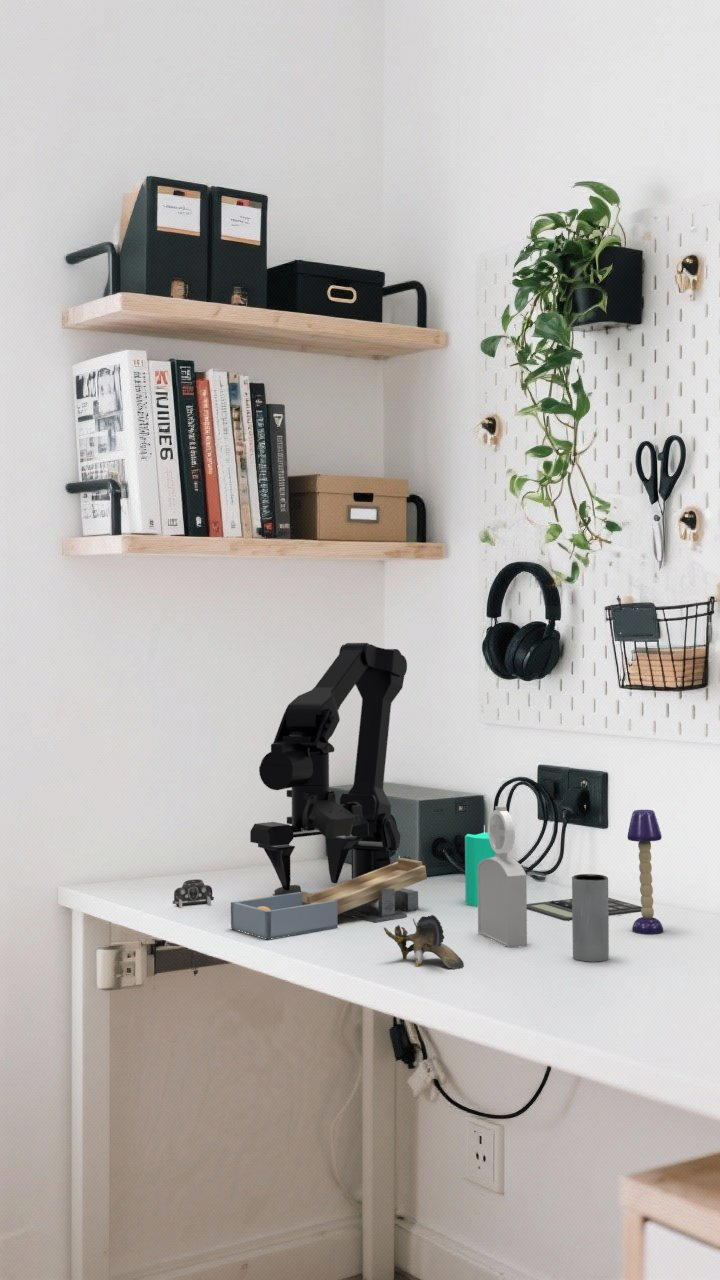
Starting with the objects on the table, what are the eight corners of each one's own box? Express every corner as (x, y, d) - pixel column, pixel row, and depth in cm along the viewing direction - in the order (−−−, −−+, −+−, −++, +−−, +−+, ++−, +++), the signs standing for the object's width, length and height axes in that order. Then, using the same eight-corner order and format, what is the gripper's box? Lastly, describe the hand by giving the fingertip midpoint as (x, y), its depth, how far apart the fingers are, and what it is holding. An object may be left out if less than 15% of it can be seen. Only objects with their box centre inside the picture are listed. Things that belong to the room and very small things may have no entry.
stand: (387, 902, 213) (387, 875, 213) (432, 912, 205) (432, 884, 205) (331, 911, 206) (330, 883, 206) (375, 922, 198) (374, 893, 198)
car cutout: (178, 914, 207) (178, 885, 207) (165, 907, 213) (165, 878, 213) (271, 905, 214) (271, 876, 214) (256, 898, 220) (256, 870, 220)
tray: (231, 929, 194) (230, 902, 194) (299, 917, 201) (299, 892, 201) (267, 939, 187) (267, 912, 187) (337, 927, 194) (337, 900, 194)
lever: (364, 866, 219) (362, 850, 218) (427, 878, 207) (424, 862, 207) (270, 901, 207) (268, 885, 207) (331, 916, 196) (328, 899, 195)
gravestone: (508, 947, 181) (507, 811, 181) (478, 933, 190) (477, 803, 190) (526, 946, 182) (525, 810, 182) (496, 931, 191) (495, 802, 191)
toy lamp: (625, 932, 189) (624, 811, 189) (631, 926, 194) (630, 807, 194) (661, 935, 188) (660, 813, 188) (665, 928, 192) (664, 809, 192)
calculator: (648, 907, 205) (565, 917, 198) (648, 913, 205) (565, 923, 198) (600, 894, 215) (520, 903, 208) (600, 900, 215) (520, 909, 208)
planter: (600, 963, 172) (600, 881, 172) (567, 959, 174) (566, 878, 174) (614, 956, 176) (613, 875, 176) (581, 952, 178) (580, 872, 178)
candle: (504, 899, 214) (503, 822, 214) (504, 906, 208) (504, 827, 208) (465, 899, 215) (465, 822, 215) (465, 906, 209) (464, 827, 209)
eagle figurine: (377, 958, 171) (439, 953, 166) (386, 905, 175) (446, 898, 170) (410, 981, 176) (470, 977, 171) (418, 929, 180) (477, 923, 175)
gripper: (291, 792, 197) (291, 901, 197) (391, 783, 209) (391, 886, 209) (248, 786, 206) (248, 890, 206) (346, 778, 218) (346, 877, 218)
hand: (310, 886), depth 210 cm, fingers open, 9 cm apart
